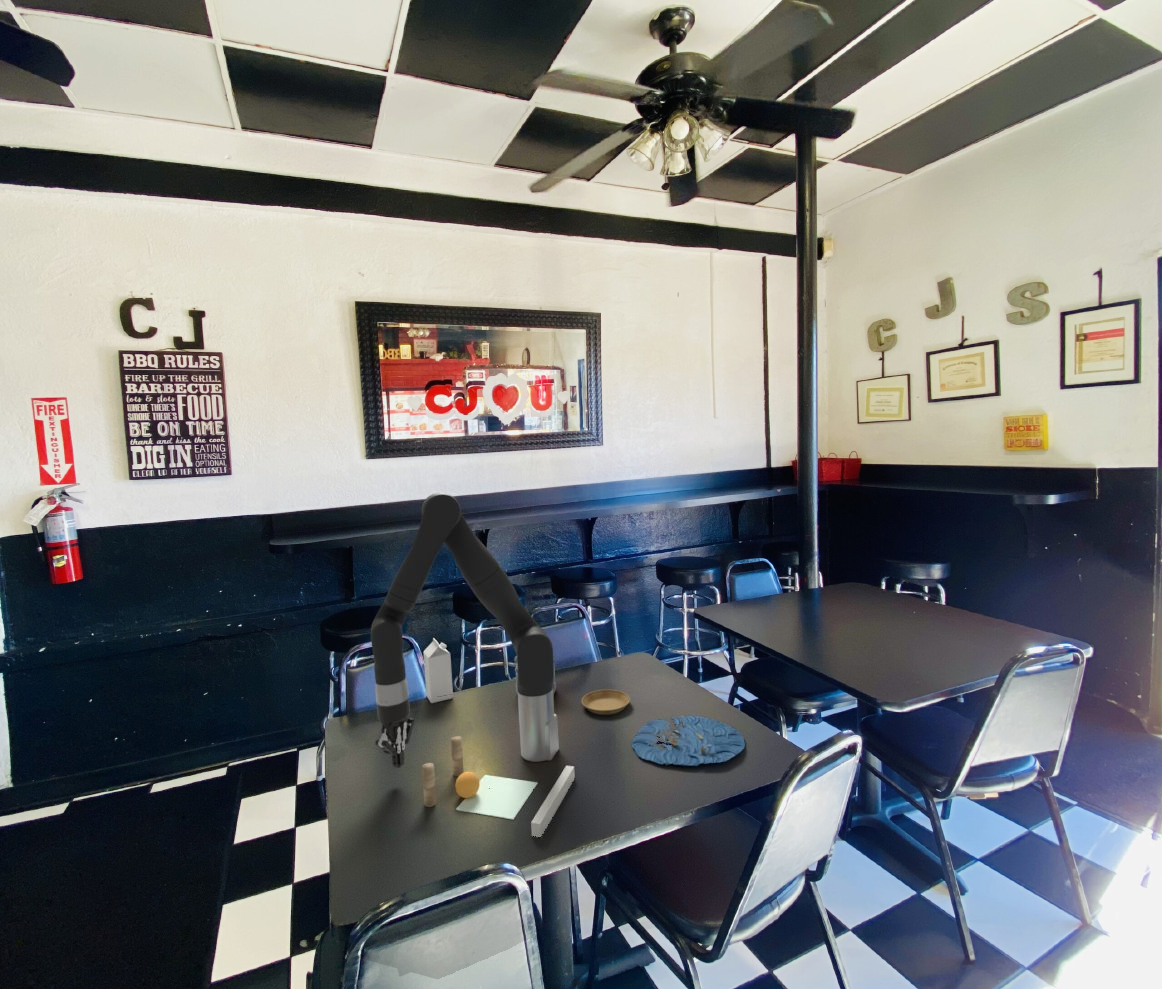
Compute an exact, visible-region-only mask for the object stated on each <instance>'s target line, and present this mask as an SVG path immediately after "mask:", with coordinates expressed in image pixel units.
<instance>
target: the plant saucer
mask: <svg viewBox="0 0 1162 989" xmlns="http://www.w3.org/2000/svg"><path fill="white" fill-rule="evenodd" d="M630 700H631V698H630V696H629V695H628V694H627V693H625V692H623V691H620V690H616V689H598V690H594V691H593V690H592V691H591V692H588V693H587V694H585V695H584V696H582V698H581V704H582V705H583V707H585V709H587V710H588V711H589V712H591V713H593V714H595V715H601V716H609V715H614V714H617V713H620V712H621V711H623V710H624V709H625V708H626V707H627V706H628V704H629V703H630Z"/></svg>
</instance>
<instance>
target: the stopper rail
mask: <svg viewBox="0 0 1162 989" xmlns="http://www.w3.org/2000/svg"><path fill="white" fill-rule="evenodd" d="M575 777H576V776H575V766H572V765H565V767H564V769H563V771H562V772H561V774H560V775H559V777H558V778H557V780H556V782H555V784H554V785H553V786H552V788H551V790H550V791H549V792H548V795H547V796H546V798H545V799H544V801H543V802H542V804H541V806H540V808H539V809H538V811H537V812H536V813H535V816H534V817H533V819H532V820H531V821H530V826H531V827H530V828H531V837H533V836H534V838H538V837H541V836H542V837H543V835H542V834H544V833H545V832H544V831H546V830H545V829H547V828H548V826H549V825H548V824H550V823H551V821H552V819H553V818H554V815H556V812H557V810H558V809H559V807H560V805H561V803H562V802H563V800H564V798H565V796H566V794H567V793H568V791H569V790H568V789H570V787H572V786H571V785H572V784H573V783H572V782H574V781H575V779H574V778H575ZM552 817H553V818H552ZM535 836H536V837H535ZM542 837H541V838H542Z"/></svg>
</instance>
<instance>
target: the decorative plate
mask: <svg viewBox="0 0 1162 989" xmlns="http://www.w3.org/2000/svg"><path fill="white" fill-rule="evenodd" d="M670 719H671V720H672V719H674V720H673V721H674V724H678V725H676V726H678V727H679V728H678V727H677V728H678V729H675V730H674V731H675V732H674V731H673V730H672V728H671V727H670V726H669V727H670V728H671V729H670V728H669V727H668V725H669V724H672V723H671V722H670V721H667V720H666V719H665V720H664V719H658V718H657V719H654V720H651V721H647V722H646V723H645V724H644V725H643V726H642V728H640V729H638V731H639V732H638V731H637V732H636V734H639V735H637V736H636V735H635V737H634V738H633V740H632V743H631V746H632V748H633V749H634V751H635V753H636V754H637V757H638V758H641V760H643V759H644V760H646V761H651V762H654V763H657V764H659V765H664V764H665V765H666V766H669V765H671V764H673V765H674V766H675V765H676V766H677V765H679V766H683V767H688V766H691V767H693V766H695V767H697V766H699V765H701V764H704V765H705V764H710V763H711V764H713V763H714V764H715V763H722V762H727V761H729V760H731V758H734V757H735V756H737V755H738V754H740V753H741V752H742V751H743V750H744V748H745V747H746V744H745V738H744V736H743V734H741V732H740V731H737V730H736V728H734V727H732V726H730V725H729V724H725V723H724V722H720V720H716V719H711V718H708V717H704V716H698V715H688V716H687V715H679V716H678V717H673V716H671V717H670ZM681 722H682V723H681ZM667 723H668V725H667ZM663 724H666V725H667V726H664V725H663ZM674 724H673V725H674ZM680 724H681V725H682V724H683V727H684V728H683V727H682V726H679V725H680ZM676 726H675V727H676ZM662 729H664V730H666V733H668V735H667V736H668V738H669V741H666V743H667V744H668V745H666V743H665V744H664V743H662V744H661V745H662V746H664V747H666V748H667V750H661V749H659V748H658V747H654V746H653V745H655V743H656V742H655V741H657V740H656V739H658V737H654V736H655V735H657V734H660V735H662V737H663V739H664V741H665V740H666V738H667V737H666V736H664V735H663V734H661V733H662V732H663V731H662ZM667 729H670V730H672V731H673V733H672V732H667V731H668V730H667ZM650 731H651V732H650ZM660 731H661V733H660ZM640 734H645V735H640ZM646 734H648V735H646ZM649 734H650V735H649ZM654 734H655V735H654ZM675 734H678V736H680V738H679V737H678V736H677V737H676V736H675ZM651 735H654V736H651ZM659 739H661V737H660V738H659ZM649 740H651V741H649ZM652 741H653V742H652ZM664 741H663V742H664ZM654 742H655V743H654ZM657 742H658V741H657ZM653 743H654V744H653ZM658 743H659V742H658ZM647 744H649V745H647ZM669 744H671V745H672V746H671V745H669ZM651 746H652V747H651Z"/></svg>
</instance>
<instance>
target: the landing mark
mask: <svg viewBox="0 0 1162 989" xmlns="http://www.w3.org/2000/svg"><path fill="white" fill-rule="evenodd" d="M479 783H480V785H479V789H478V791H477V793H476V794H475V795H474V796H472V797H470V798H464V799H463V800H462V802H461V803H460V804H459V805H458V806H457V807H456V809H455V810H456V811H459V812H465V813H472V814H476V813H477V814H478V815H483V816H489V817H495V818H501V819H507V820H512V821H514V819H515V818H516V817H517V815H518V814H519V813H520V810H521V809H522V807H523V806H524V804H525V803H526V802H527V800H528V798H530V795H531V794H532V793H533V791H534V790H535V788H536V786H537V785H538V784H539V783H538V782H537V781H536V782H535V781H529V780H522V779H515V778H510V777H509V778H508V777H504V776H497V775H489V774H484V775H483V777H482V778H481V779H480V780H479ZM489 788H490V789H489ZM533 789H534V790H533Z"/></svg>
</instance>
